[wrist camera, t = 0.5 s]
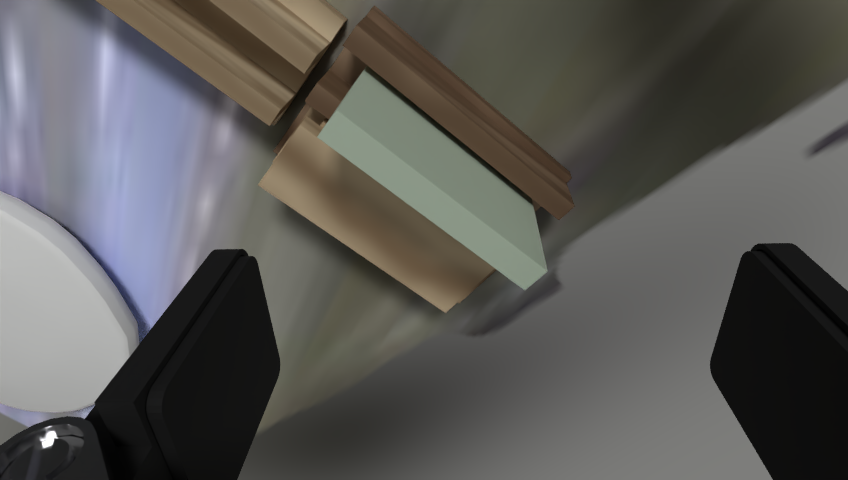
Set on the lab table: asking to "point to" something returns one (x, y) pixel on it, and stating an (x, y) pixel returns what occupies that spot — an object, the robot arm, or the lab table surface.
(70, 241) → the plate
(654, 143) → the lab table surface
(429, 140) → the tall sheet
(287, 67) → the cradle
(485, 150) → the rack
